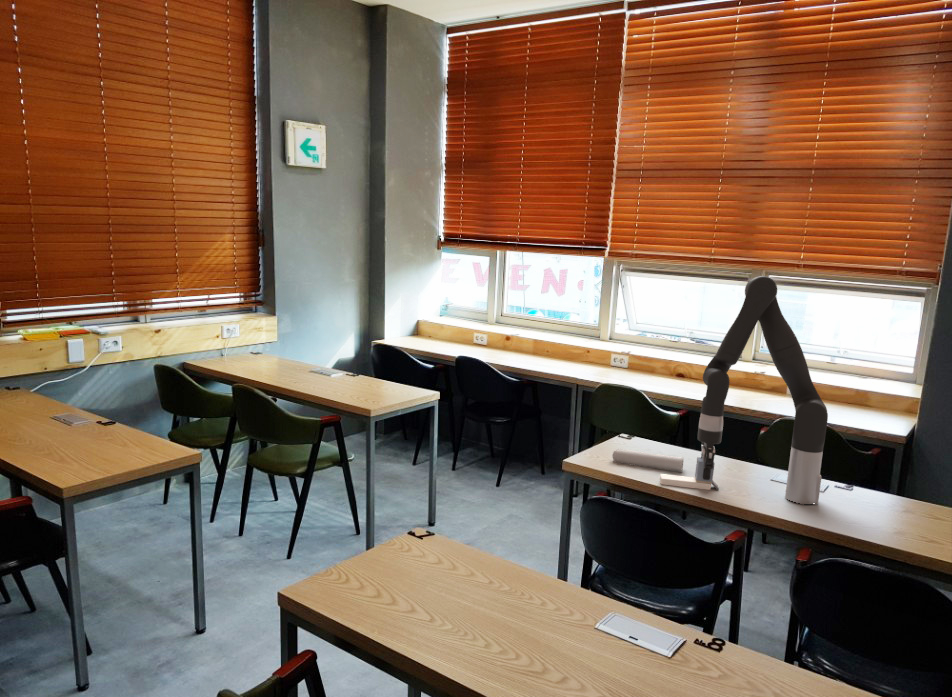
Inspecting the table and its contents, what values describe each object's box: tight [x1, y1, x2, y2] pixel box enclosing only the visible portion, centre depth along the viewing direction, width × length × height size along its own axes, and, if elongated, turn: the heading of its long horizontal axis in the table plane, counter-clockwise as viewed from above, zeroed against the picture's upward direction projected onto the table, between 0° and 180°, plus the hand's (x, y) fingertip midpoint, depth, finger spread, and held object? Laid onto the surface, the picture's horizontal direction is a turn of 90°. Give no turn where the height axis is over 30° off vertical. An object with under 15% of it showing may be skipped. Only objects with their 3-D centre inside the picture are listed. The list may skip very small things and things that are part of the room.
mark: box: [711, 479, 720, 491], centre depth 238 cm, size 3×4×1 cm
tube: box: [612, 448, 685, 473], centre depth 258 cm, size 5×5×25 cm
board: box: [659, 473, 712, 491], centre depth 240 cm, size 16×5×2 cm, turn 78°
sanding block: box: [694, 456, 715, 485], centre depth 238 cm, size 5×5×7 cm
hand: (705, 476), depth 238 cm, fingers closed on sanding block, 5 cm apart
